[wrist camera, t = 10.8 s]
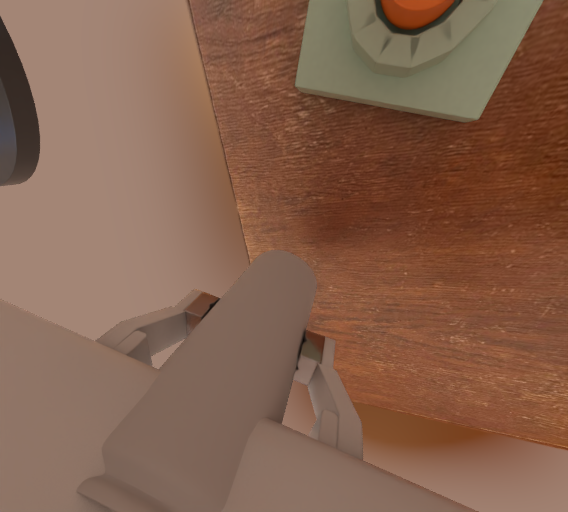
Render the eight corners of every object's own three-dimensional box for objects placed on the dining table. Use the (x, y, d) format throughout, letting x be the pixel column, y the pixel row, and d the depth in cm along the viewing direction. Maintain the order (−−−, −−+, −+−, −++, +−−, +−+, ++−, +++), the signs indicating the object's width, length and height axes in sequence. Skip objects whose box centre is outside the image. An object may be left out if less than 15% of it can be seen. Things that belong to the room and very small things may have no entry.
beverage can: (250, 242, 15) (18, 458, 5) (320, 249, 14) (217, 565, 3) (255, 298, 17) (106, 530, 7) (316, 309, 16) (247, 611, 6)
